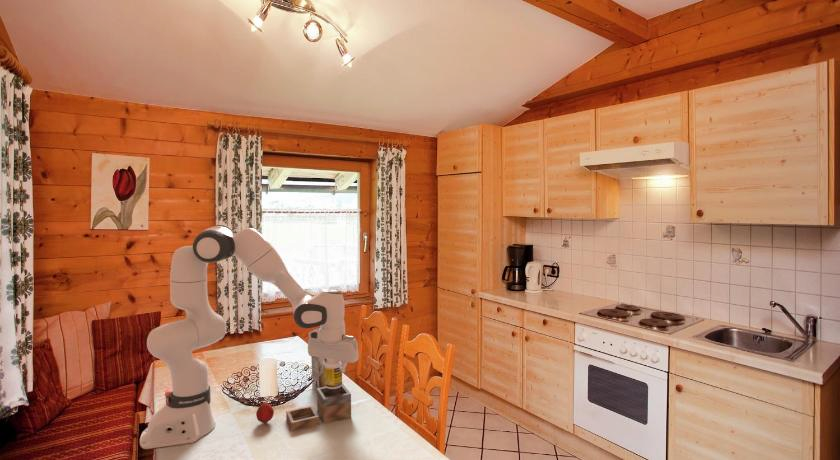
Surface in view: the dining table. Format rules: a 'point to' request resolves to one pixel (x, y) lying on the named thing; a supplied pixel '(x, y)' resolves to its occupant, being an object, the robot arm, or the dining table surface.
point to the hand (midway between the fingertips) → (333, 370)
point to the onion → (265, 413)
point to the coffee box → (317, 373)
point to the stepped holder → (322, 409)
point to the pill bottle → (333, 374)
